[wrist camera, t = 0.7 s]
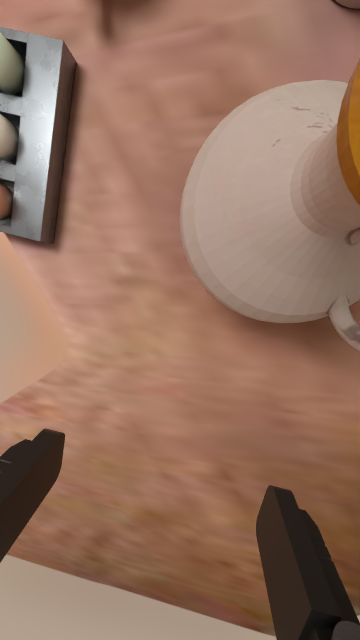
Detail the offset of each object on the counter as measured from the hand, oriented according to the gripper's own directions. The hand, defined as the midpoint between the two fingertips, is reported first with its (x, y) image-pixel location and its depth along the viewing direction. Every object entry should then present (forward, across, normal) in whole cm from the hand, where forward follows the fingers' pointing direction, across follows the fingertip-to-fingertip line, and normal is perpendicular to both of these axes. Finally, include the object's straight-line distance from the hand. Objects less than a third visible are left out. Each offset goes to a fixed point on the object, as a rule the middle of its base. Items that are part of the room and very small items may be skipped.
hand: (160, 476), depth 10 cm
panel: (+26, +27, -17) cm, 41 cm away
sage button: (+24, +27, -24) cm, 43 cm away
